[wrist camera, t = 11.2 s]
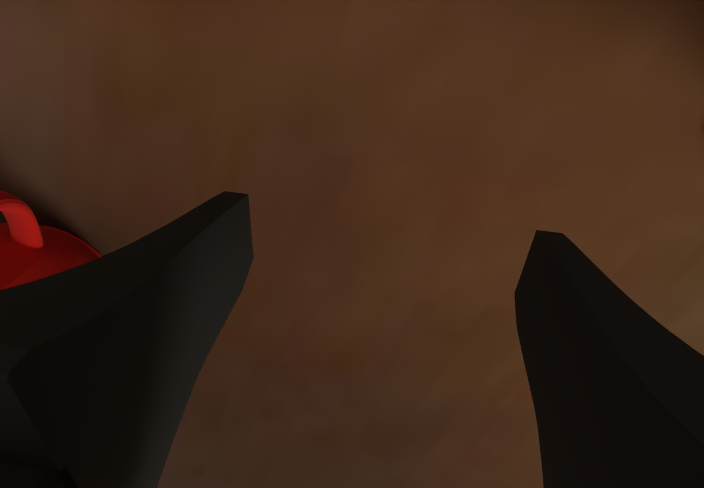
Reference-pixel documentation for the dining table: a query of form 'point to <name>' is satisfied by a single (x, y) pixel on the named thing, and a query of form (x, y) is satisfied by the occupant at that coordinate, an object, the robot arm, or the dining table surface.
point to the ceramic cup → (35, 246)
